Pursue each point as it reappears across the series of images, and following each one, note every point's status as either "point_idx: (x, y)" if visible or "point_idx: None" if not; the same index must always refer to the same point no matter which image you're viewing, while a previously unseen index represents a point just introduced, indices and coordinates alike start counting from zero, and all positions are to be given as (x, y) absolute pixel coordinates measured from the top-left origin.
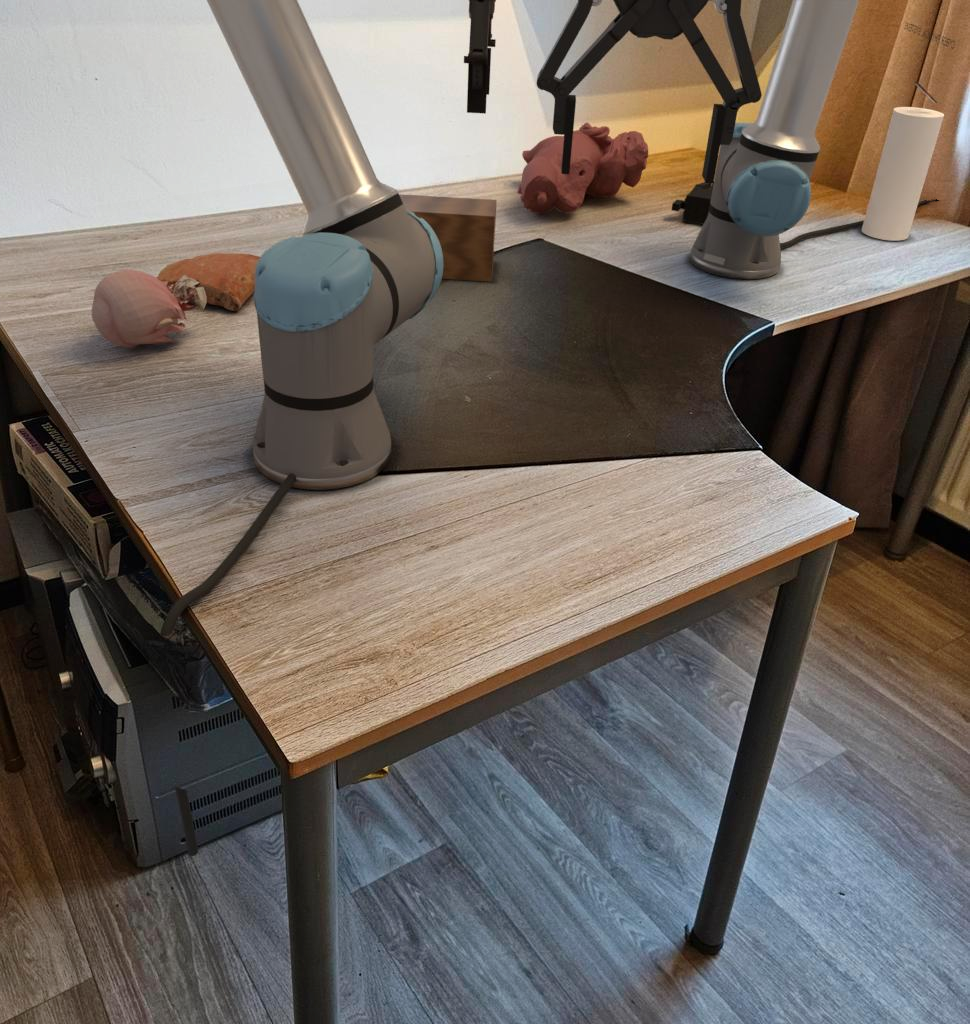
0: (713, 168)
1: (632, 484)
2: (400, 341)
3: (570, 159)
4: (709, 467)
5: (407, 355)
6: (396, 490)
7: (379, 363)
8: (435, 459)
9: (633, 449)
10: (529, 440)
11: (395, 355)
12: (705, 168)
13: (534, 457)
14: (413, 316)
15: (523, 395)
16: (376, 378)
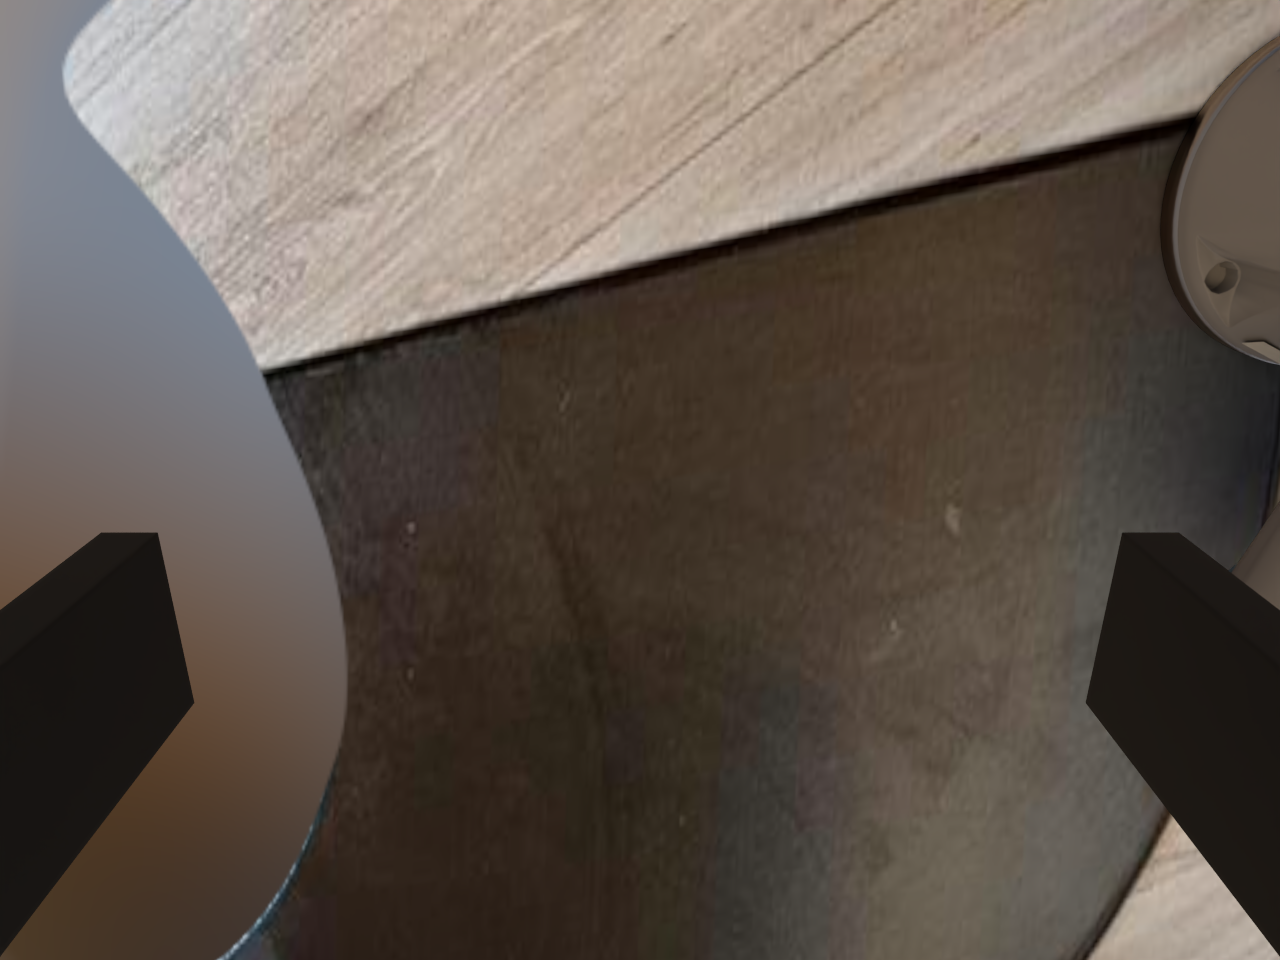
0: (58, 581)
1: (561, 162)
2: (1104, 767)
3: (1179, 578)
4: (370, 273)
5: None
6: (1154, 44)
7: None
8: (1047, 213)
9: (554, 333)
10: (809, 340)
11: None
12: (139, 657)
13: (800, 259)
14: (1234, 565)
15: (815, 554)
16: None
